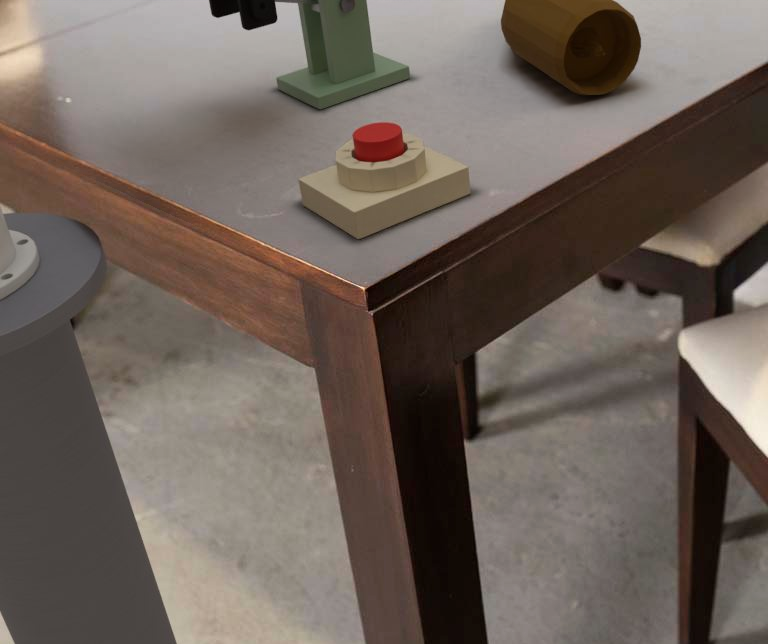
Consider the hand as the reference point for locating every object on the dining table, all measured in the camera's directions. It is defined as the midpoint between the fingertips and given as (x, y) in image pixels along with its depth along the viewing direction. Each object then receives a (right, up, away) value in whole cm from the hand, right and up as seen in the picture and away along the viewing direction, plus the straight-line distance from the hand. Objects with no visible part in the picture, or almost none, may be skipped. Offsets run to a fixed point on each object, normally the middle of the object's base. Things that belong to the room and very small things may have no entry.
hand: (244, 17), depth 96 cm
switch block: (+12, -18, -13) cm, 26 cm away
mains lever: (+4, +1, +2) cm, 5 cm away
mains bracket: (+8, -3, +8) cm, 12 cm away
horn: (+28, -1, +8) cm, 29 cm away
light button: (+12, -15, -15) cm, 25 cm away
